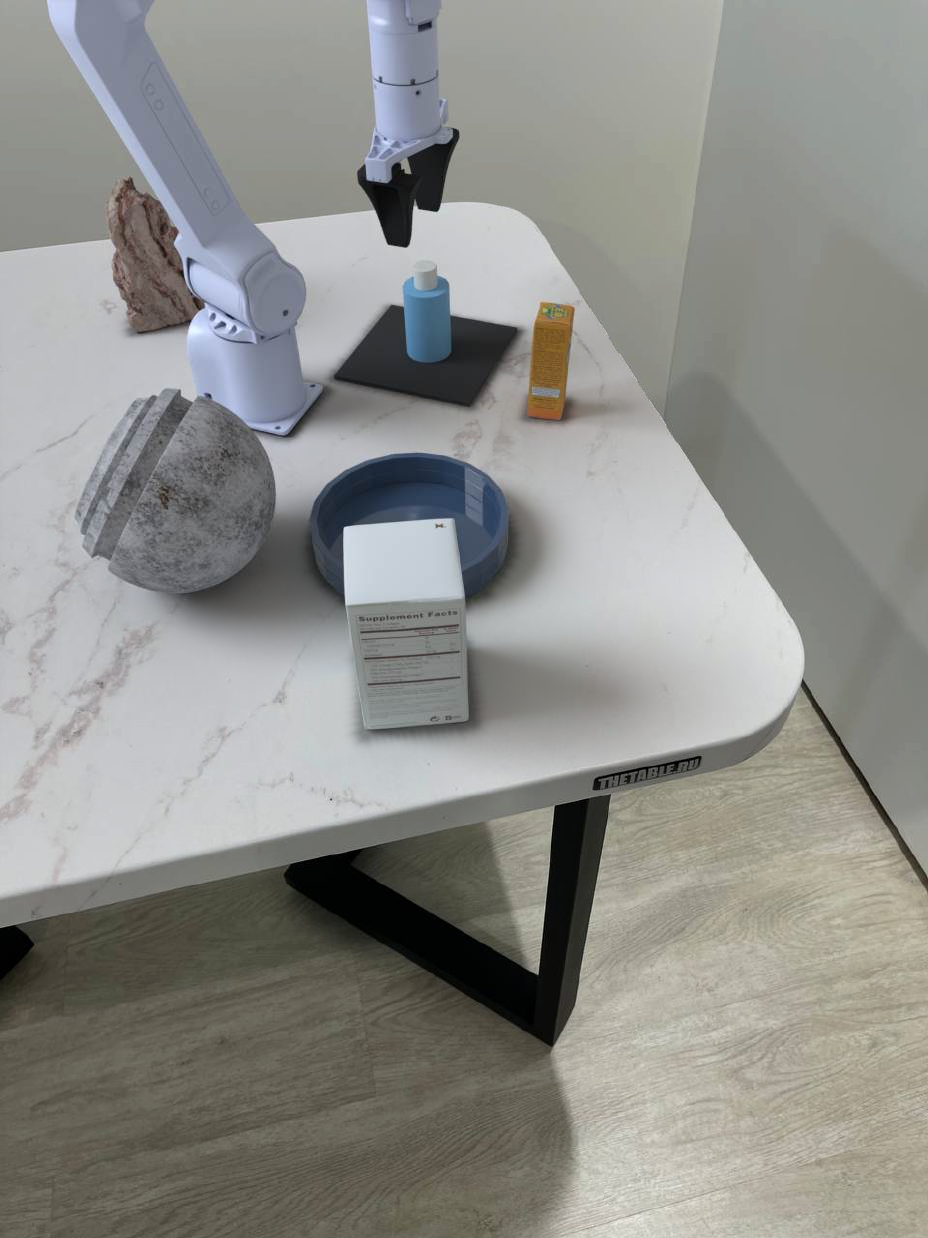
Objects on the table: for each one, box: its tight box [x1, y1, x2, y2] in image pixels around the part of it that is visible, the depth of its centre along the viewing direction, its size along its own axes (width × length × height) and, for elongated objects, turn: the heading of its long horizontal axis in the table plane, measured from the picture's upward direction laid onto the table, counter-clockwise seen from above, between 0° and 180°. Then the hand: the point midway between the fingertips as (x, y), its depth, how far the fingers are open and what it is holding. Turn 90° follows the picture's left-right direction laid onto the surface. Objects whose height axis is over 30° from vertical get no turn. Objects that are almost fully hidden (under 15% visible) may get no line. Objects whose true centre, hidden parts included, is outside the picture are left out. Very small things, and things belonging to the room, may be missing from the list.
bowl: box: [308, 451, 510, 599], centre depth 81 cm, size 16×16×3 cm
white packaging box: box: [343, 518, 470, 730], centre depth 67 cm, size 7×7×13 cm
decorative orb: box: [73, 387, 277, 594], centre depth 75 cm, size 15×14×15 cm
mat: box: [333, 304, 518, 407], centre depth 101 cm, size 14×14×1 cm
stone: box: [104, 176, 205, 333], centre depth 102 cm, size 15×8×10 cm
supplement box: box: [526, 301, 576, 421], centre depth 90 cm, size 3×3×10 cm
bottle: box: [402, 259, 451, 363], centre depth 97 cm, size 4×4×9 cm
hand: (413, 226), depth 97 cm, fingers open, 7 cm apart
